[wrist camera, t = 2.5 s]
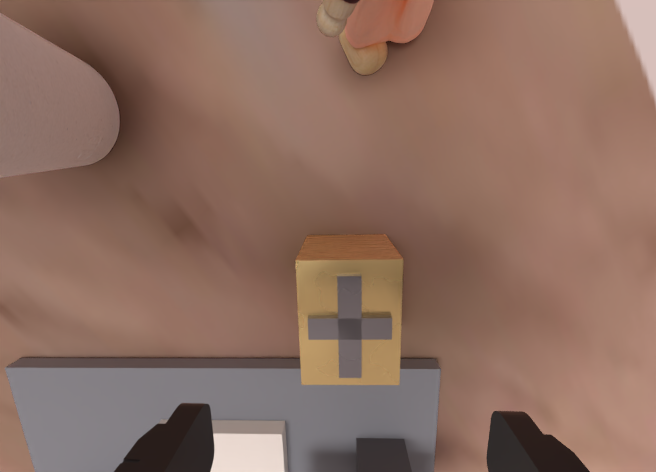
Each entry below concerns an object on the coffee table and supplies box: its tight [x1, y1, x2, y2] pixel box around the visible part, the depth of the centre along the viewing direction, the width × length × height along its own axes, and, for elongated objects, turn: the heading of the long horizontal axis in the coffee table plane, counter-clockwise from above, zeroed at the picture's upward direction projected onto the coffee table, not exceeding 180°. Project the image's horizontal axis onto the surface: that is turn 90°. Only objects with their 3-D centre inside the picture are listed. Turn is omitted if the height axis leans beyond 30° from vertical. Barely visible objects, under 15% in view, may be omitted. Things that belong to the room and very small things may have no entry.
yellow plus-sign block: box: [295, 234, 403, 385], centre depth 16 cm, size 6×4×5 cm
